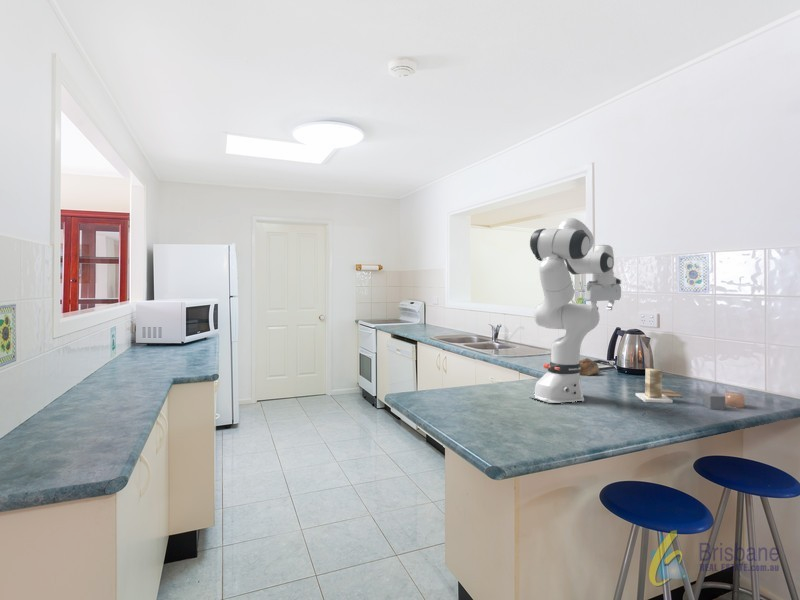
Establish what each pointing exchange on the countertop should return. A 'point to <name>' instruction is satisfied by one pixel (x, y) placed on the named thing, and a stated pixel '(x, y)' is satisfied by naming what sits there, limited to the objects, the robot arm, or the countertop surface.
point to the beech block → (653, 383)
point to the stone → (588, 367)
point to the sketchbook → (604, 365)
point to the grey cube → (714, 401)
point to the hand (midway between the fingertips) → (602, 310)
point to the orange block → (734, 399)
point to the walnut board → (670, 393)
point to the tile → (647, 399)
